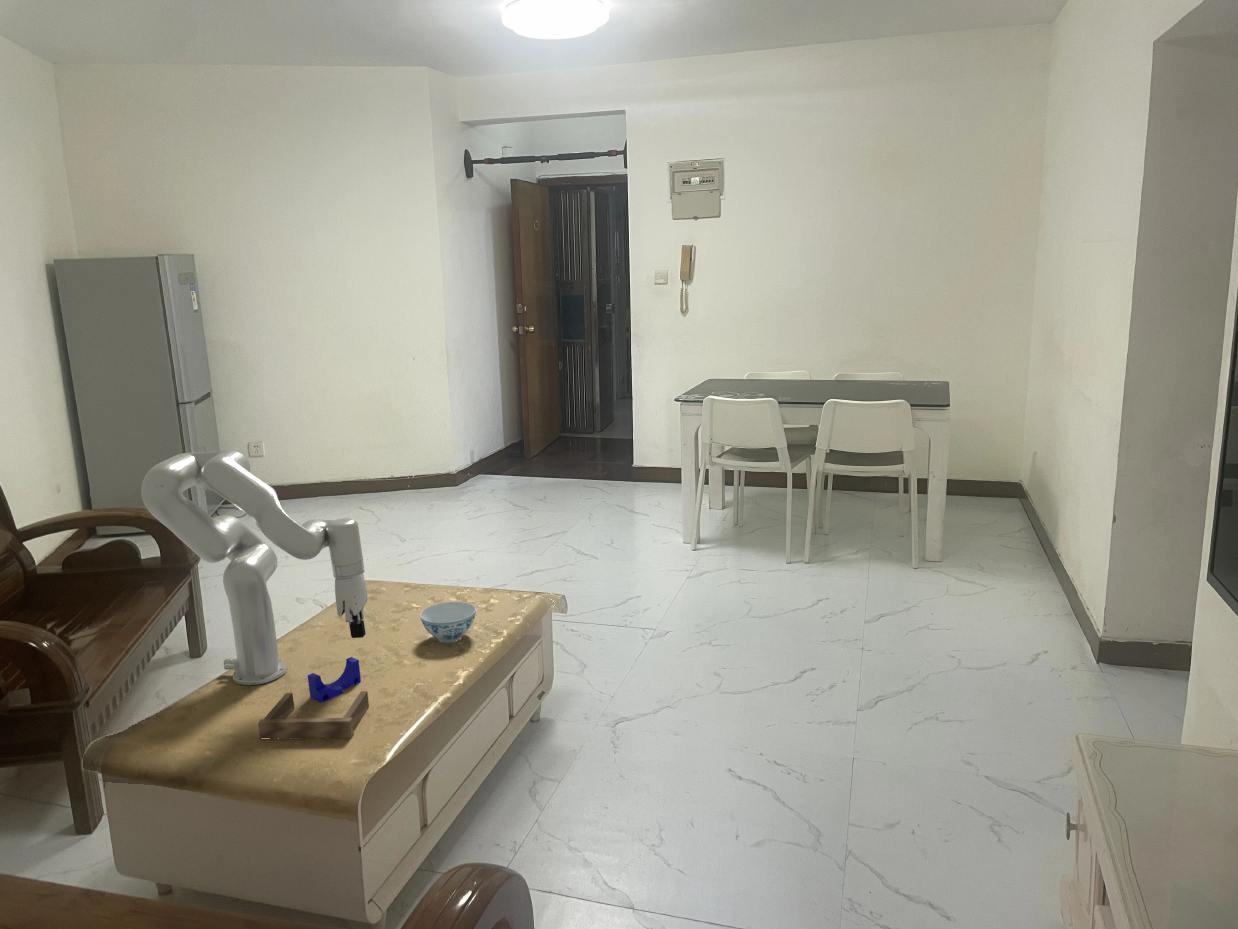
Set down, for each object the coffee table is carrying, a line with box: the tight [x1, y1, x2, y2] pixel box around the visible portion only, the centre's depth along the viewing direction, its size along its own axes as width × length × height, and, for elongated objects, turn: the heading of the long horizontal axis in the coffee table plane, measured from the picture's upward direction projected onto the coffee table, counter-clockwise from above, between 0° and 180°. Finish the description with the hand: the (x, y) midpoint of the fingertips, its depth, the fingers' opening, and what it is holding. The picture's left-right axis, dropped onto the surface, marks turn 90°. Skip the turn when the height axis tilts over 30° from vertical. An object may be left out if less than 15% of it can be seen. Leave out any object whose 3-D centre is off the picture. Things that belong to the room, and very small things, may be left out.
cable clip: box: [307, 656, 362, 704], centre depth 204 cm, size 12×4×6 cm, turn 141°
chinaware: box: [419, 600, 477, 644], centre depth 232 cm, size 15×15×8 cm
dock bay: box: [257, 690, 370, 740], centre depth 189 cm, size 20×14×4 cm
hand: (358, 636), depth 215 cm, fingers closed
